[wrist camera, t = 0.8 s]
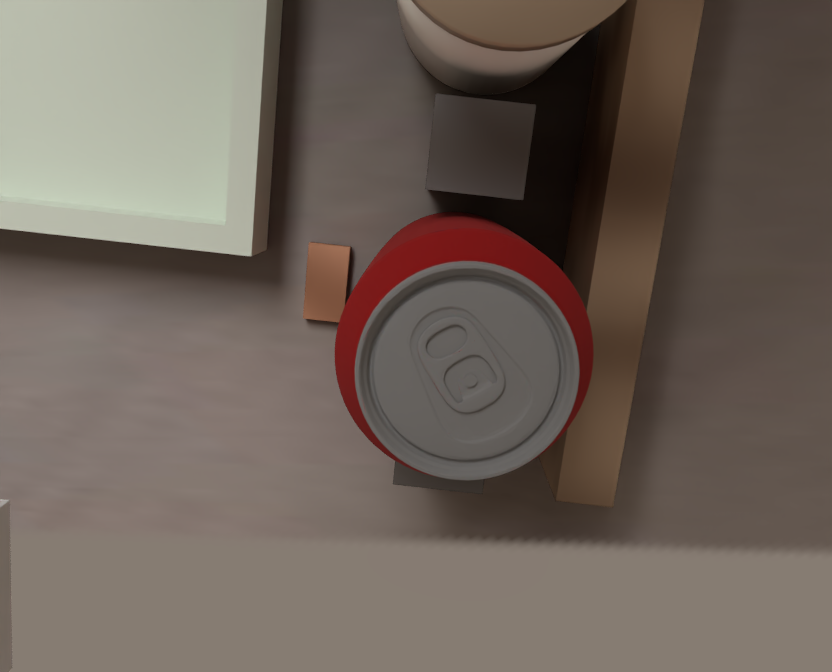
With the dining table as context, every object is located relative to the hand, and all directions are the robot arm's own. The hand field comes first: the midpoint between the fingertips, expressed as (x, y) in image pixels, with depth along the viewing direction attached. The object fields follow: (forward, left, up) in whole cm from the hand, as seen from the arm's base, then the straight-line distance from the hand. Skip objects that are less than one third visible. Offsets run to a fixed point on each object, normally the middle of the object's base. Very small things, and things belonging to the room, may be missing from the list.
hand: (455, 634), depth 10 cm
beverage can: (-2, 0, -19) cm, 19 cm away
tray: (-9, -14, -19) cm, 25 cm away
